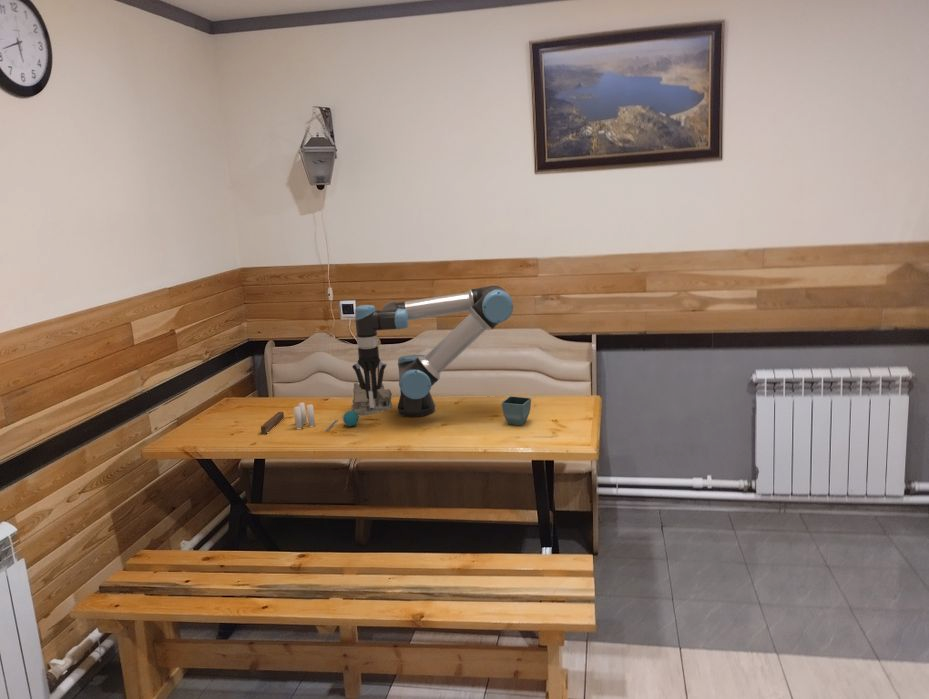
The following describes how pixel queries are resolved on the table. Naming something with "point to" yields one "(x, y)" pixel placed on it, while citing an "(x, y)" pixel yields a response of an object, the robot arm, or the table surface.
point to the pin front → (310, 415)
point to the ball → (350, 418)
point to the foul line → (331, 425)
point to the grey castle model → (363, 404)
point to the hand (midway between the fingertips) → (372, 406)
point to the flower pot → (516, 409)
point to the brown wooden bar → (272, 422)
